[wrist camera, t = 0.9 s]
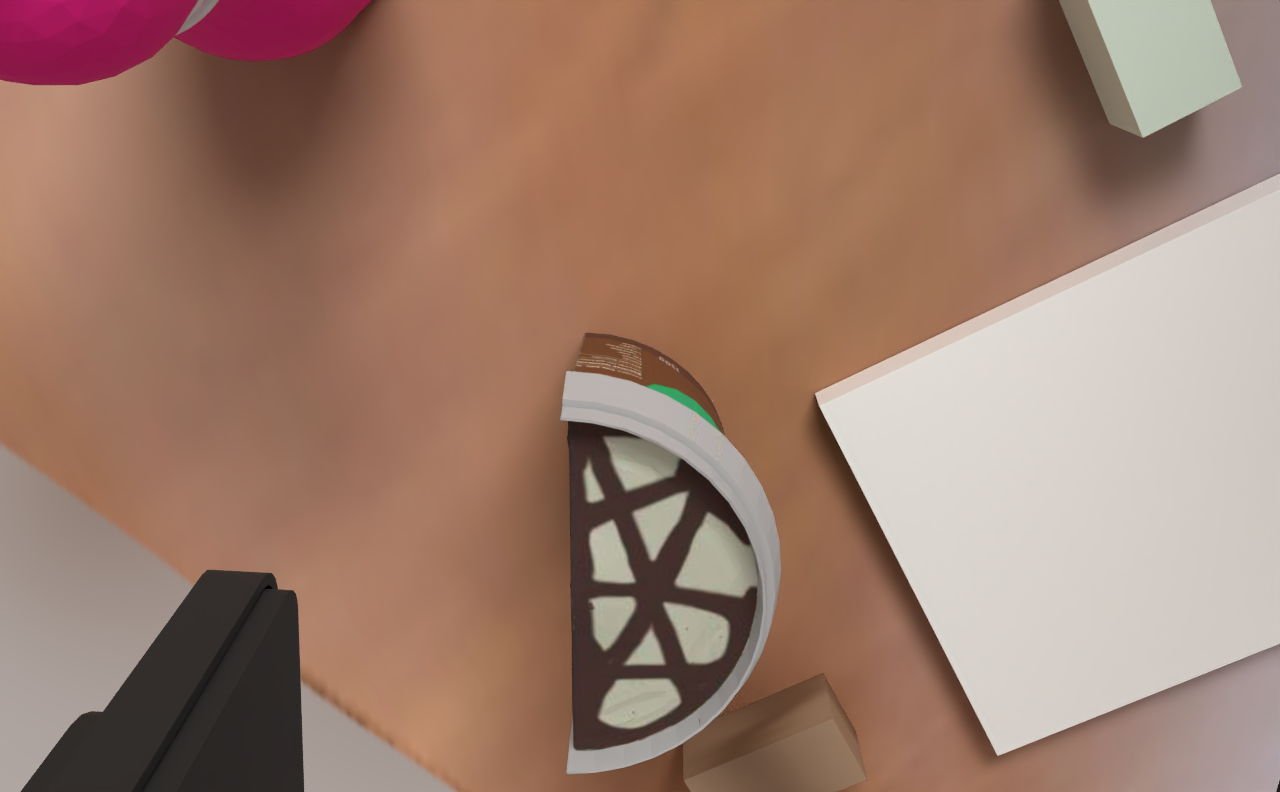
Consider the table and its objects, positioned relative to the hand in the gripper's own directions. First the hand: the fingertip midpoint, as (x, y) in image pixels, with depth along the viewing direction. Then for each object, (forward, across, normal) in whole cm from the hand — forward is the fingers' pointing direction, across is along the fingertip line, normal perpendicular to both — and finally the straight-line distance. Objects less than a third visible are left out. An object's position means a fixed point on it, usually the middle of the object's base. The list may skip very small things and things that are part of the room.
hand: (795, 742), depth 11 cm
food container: (+30, -1, +9) cm, 31 cm away
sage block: (+29, -13, -7) cm, 32 cm away
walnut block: (+30, -5, +21) cm, 37 cm away
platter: (+29, -17, +9) cm, 35 cm away
